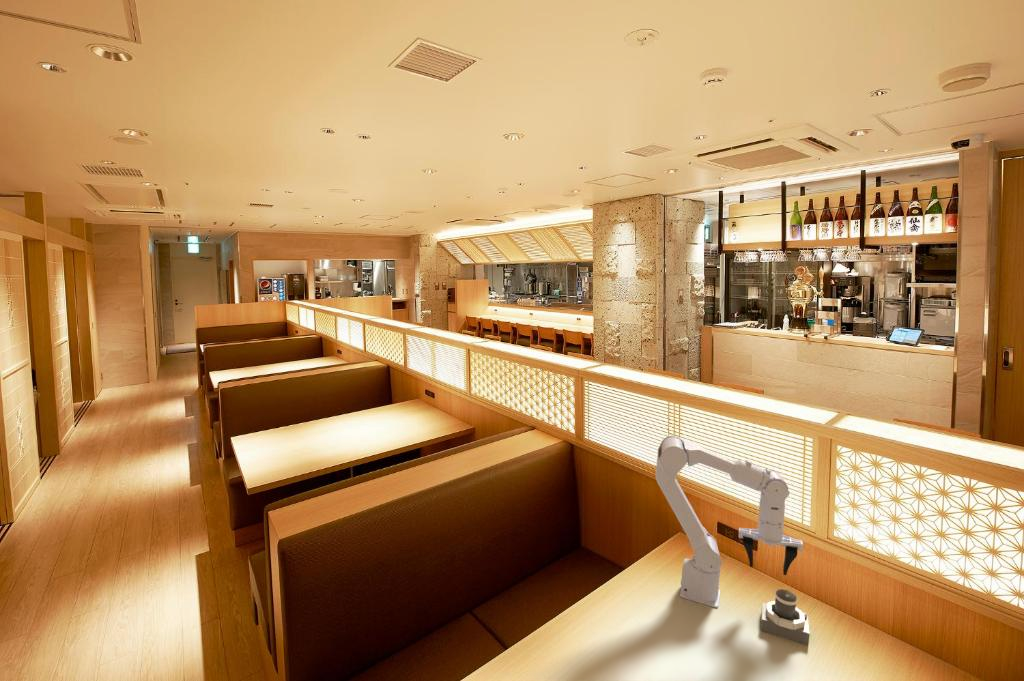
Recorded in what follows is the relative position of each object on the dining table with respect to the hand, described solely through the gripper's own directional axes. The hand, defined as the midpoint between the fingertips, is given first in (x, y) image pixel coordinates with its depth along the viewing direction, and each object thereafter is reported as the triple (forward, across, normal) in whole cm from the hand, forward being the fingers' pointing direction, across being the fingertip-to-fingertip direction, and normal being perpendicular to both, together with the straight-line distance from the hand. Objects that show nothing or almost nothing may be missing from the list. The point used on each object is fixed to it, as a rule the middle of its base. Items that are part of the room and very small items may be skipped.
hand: (767, 568), depth 128 cm
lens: (+8, +4, -7) cm, 11 cm away
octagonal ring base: (+10, +4, -7) cm, 13 cm away
